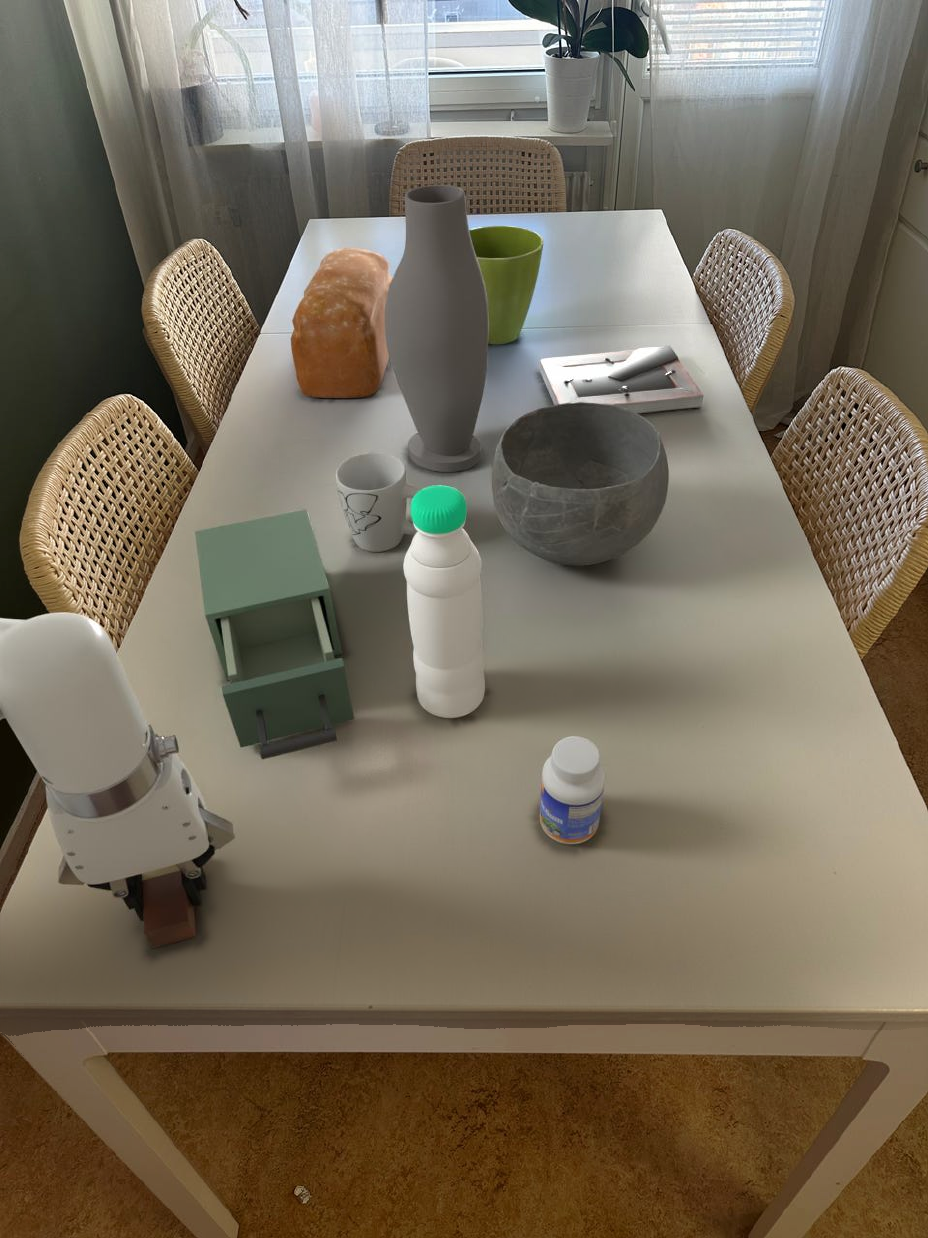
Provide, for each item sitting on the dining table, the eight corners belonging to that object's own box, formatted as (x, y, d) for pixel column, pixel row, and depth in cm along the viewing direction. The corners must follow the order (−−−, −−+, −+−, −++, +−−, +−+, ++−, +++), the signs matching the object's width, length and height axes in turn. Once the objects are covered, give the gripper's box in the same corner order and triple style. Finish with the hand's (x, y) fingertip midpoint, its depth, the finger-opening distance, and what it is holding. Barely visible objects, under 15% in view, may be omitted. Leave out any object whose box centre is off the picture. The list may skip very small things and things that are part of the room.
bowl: (539, 480, 118) (542, 379, 108) (682, 522, 110) (700, 417, 100) (462, 564, 106) (457, 459, 96) (617, 619, 98) (630, 510, 87)
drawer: (366, 762, 83) (356, 708, 78) (246, 793, 81) (228, 740, 76) (330, 631, 97) (320, 578, 91) (227, 655, 94) (210, 601, 89)
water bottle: (497, 686, 91) (495, 487, 74) (461, 731, 87) (450, 531, 69) (441, 662, 94) (426, 465, 77) (403, 704, 89) (379, 506, 72)
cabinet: (342, 654, 95) (329, 588, 89) (226, 680, 93) (205, 615, 86) (319, 573, 105) (307, 508, 99) (215, 595, 103) (195, 531, 97)
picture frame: (668, 359, 143) (539, 371, 141) (670, 345, 141) (539, 357, 139) (701, 409, 131) (560, 423, 129) (704, 394, 129) (561, 408, 127)
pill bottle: (529, 806, 80) (531, 739, 73) (582, 788, 81) (589, 720, 74) (555, 855, 76) (559, 789, 69) (610, 835, 77) (619, 768, 71)
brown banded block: (152, 949, 71) (143, 933, 69) (149, 866, 77) (140, 849, 75) (196, 936, 72) (189, 921, 70) (190, 855, 77) (183, 838, 75)
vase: (386, 470, 121) (356, 206, 98) (419, 424, 130) (399, 172, 106) (475, 485, 118) (467, 215, 94) (503, 436, 127) (502, 179, 103)
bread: (294, 399, 137) (276, 302, 126) (326, 327, 156) (312, 237, 145) (380, 400, 136) (369, 302, 125) (402, 327, 155) (394, 237, 144)
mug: (442, 525, 112) (438, 459, 105) (423, 566, 106) (417, 498, 99) (359, 513, 114) (350, 448, 107) (335, 553, 108) (324, 486, 101)
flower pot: (502, 309, 159) (501, 218, 148) (559, 335, 150) (562, 240, 139) (438, 334, 152) (432, 241, 141) (494, 363, 144) (492, 266, 133)
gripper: (217, 700, 66) (263, 836, 78) (-16, 755, 62) (71, 887, 75) (226, 777, 60) (274, 910, 73) (-28, 841, 57) (68, 968, 70)
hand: (170, 897), depth 74 cm, fingers closed on brown banded block, 3 cm apart
